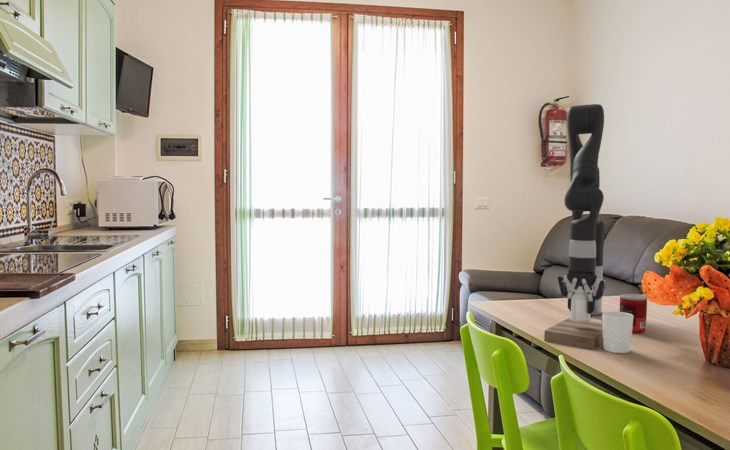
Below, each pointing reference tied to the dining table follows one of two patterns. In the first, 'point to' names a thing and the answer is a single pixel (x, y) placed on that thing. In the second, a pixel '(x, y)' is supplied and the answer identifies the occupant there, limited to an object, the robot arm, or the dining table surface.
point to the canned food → (635, 310)
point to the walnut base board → (576, 334)
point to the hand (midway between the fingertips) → (580, 311)
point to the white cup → (617, 331)
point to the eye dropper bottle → (580, 307)
